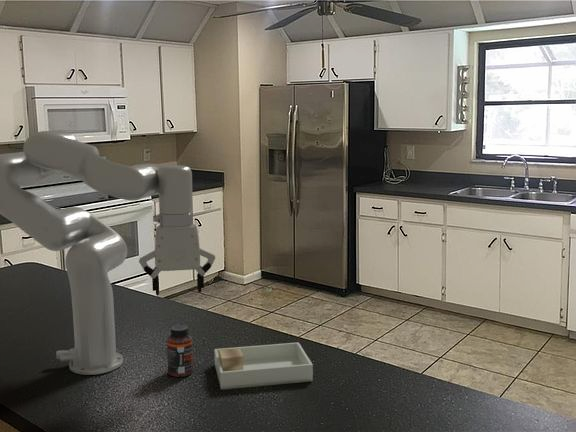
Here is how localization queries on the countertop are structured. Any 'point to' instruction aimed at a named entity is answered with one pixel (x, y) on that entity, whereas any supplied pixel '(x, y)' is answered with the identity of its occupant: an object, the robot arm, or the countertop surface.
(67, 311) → the countertop surface
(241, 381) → the tray
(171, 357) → the supplement bottle
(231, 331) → the countertop surface
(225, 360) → the maple cube
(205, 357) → the countertop surface
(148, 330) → the countertop surface
